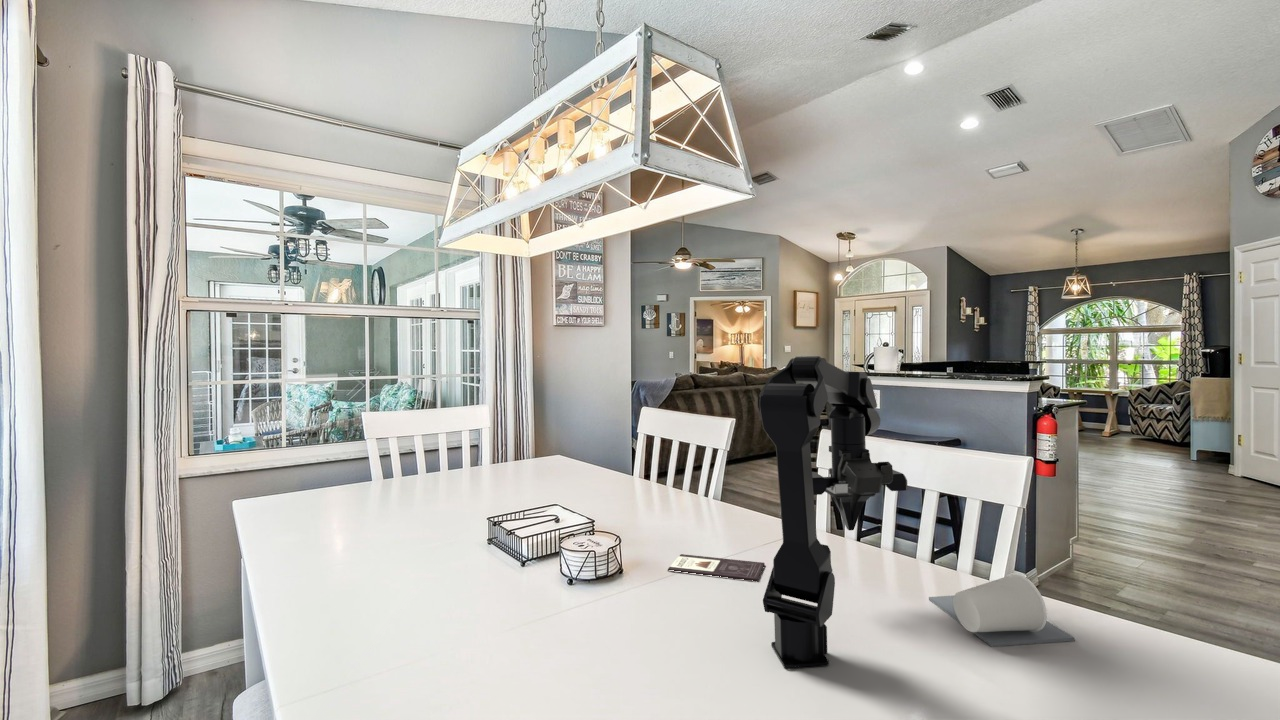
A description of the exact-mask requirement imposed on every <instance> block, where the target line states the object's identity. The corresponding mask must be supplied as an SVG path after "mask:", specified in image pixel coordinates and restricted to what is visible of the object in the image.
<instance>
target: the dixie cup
mask: <svg viewBox="0 0 1280 720" xmlns="http://www.w3.org/2000/svg"><path fill="white" fill-rule="evenodd" d="M954 595H955V596H954V599H953V605H954V610H955V613H956V615H957V618H958V620H959V621H960V623H959V624H960V625H962V627H964V629H966V630H967V631H969V632H971V633H973V632H994V631H1026V630H1029V631H1032V632H1037V631H1040V630H1041V629H1043V628H1044V626H1045V624H1046V621H1048V620H1047V619H1048V615H1047V614H1048V613H1047V611H1048V610H1047V606H1046V602H1045V600H1044V598H1043V596H1042V594H1041V592H1040V591H1039V589H1038V588H1037V587H1036V585H1035V584H1034V583H1033V582H1032V581H1031V580H1030V579H1029V578H1028V577H1026V576H1025V575H1022V574H1020V573H1016V572H1012V573H1008V574H1006V575H1005V576H1004V577H1000V578H998V579H993V580H991V581H988V582H985V583H982V584H978V585H976V586H973V587H970V588H966V589H964V590H963V589H962V590H960V591H958V592H956V593H955V594H954Z"/></svg>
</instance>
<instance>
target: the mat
mask: <svg viewBox="0 0 1280 720" xmlns="http://www.w3.org/2000/svg"><path fill="white" fill-rule="evenodd" d="M954 596H955V594H954V595H942V596H941V595H940V596H937V595H936V596H928V601H929V602H932V604H934V605H935V606H936V607H938V608H939V609H940V610H942V611H943V612H945V614H947V615H948V616H950V617H951V618H952V619H954V620H955V621H957V622H958V623H959V624H961V623H960V621H959V620H958V618H957V615H956V613H955V610H954V605H953V599H954ZM972 633H973V634H974V635H975V636H977V637H978V638H979V639H981V640H982V641H983V642H985V643H986V644H987V645H988V646H990V647H1003V646H1005V647H1006V646H1016V645H1033V644H1046V643H1061V642H1074V641H1075V640H1076V639H1075V636H1073V635H1072V634H1070V633H1068V632H1067V631H1065V630H1063V629H1061V628H1060V627H1058V626H1056V625H1054V623H1051V622H1050V621H1048V620H1046V624H1045V626H1044V628H1043V629H1041V630H1040V631H1037V632H1032V631H1029V630H1026V631H994V632H972Z"/></svg>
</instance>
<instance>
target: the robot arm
mask: <svg viewBox="0 0 1280 720" xmlns="http://www.w3.org/2000/svg"><path fill="white" fill-rule="evenodd" d="M871 380H872V379H871V378H869V376H868V374H867V373H866V371H845V370H843V369H841V368H839V367H837V366H836V365H834V364H832V363H830V362H828V361H827V359H826V358H825V357H821V356H820V355H818V356H795V357H793V358H791V359H789V361H788V363H787V365H786V366H785V367H783V368H782V369H780V370H778V371H777V372H776V373H774V374H772V375H771V376H770V377H769V378H768V379H767V380H766V382H765V384H764V385H763V388H762V389H761V390H760V393H759V395H758V398H757V408H758V412H759V413H760V419H761V424H762V429H763V431H764V432H765V434H766V435H767V437H768V438H769V439H770V440H771V442H772V443H773V445H774V446H775V453H776V468H777V480H778V490H779V491H778V492H779V503H780V504H779V505H780V506H779V507H780V518H781V530H782V532H781V533H782V544H781V546H780V548H779V549H778V550H777V552H776V554H775V555H774V558H773V562H772V563H773V566H772V569H771V572H770V576H769V579H768V583H767V586H766V588H765V592H764V594H763V599H762V604H763V609H764V612H765V613H771V614H773V615H774V616H773V617H774V618H773V619H774V621H773V622H774V623H773V624H774V641H772V642H770V643H771V648H772V650H773V651H774V653H775V655H776V656H777V657H778V659H779V661H780V663H781V665H782V667H783V668H786V669H795V668H809V667H826V666H828V665H830V660H829V659H828V658H827V654H828V627H827V625H826V622H827V620H829V619H830V617H832V615H833V608H834V597H835V586H836V585H835V584H836V579H835V578H836V577H835V574H834V573H833V568H832V559H831V556H832V555H831V549H830V546H829V545H826V544H822V543H821V542H820V541H819V539H818V536H817V525H816V524H817V523H816V509H815V496H816V495H817V496H820V495H823V494H824V493H827V494H828V495H829V496H831V497H832V499H833V501H834V503H835V505H836V507H837V509H838V511H839V513H840V517H841V518H842V521H843V523H844V525H845V528H846V530H847V531H854V530H855V528H856V525H857V522H858V520H859V516H860V514H861V511H862V509H863V506H864V504H865V503H866V501H868V500H869V499H870V498H872V497H875V496H876V494H880V493H881V492H882V486H885V487H886V488H887V489H888V490H889V491H890V492H900V491H901V492H903V491H905V492H907V490H908V478H907V476H905V474H904V473H903V472H901V471H900V472H899V471H897V470H895V469H893V465H892V463H890V462H889V461H878V462H872V460H871V453H870V450H869V449H867V448H866V445H867V443H866V437H867V436H869V435H872V434H874V433H875V432H876V431H878V429H879V428H880V426H881V416H880V414H879V412H878V411H877V410H876V408H877V407H878V404H877V399H876V395H875V392H874V387H873V383H872V381H871ZM827 404H829V406H830V408H833V409H832V410H831V411H830V412H829V415H828V417H829V419H830V440H831V441H830V443H831V444H830V445H828V452H829V453H831V467H830V468H828V471H829V472H828V473H829V475H831V476H823V475H821V474H818V473H817V472H815V471H813V468H812V466H813V465H812V453H811V450H812V449H811V441H812V439H813V438H814V436H815V434H816V432H817V431H818V429H819V427H820V425H821V415H822V413H823V412H824V409H825V407H826V405H827ZM783 596H785V597H786V598H785V597H783ZM787 597H789V598H793V599H794V600H793V599H789V598H787ZM795 599H797V600H800V601H797V600H795ZM801 600H802V601H805V603H804V602H801ZM806 602H809V603H814V604H816V605H813V604H809V603H806Z"/></svg>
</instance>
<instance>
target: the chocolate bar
mask: <svg viewBox="0 0 1280 720" xmlns="http://www.w3.org/2000/svg"><path fill="white" fill-rule="evenodd" d="M763 567H765V562H761V561H759V562H758V561H753V560H752V561H751V560H740V559H732V558H723V557H722V558H721V557H711V556H702V555H695V554H694V555H693V554H682V553H681V554H679V556H678V557H677V558H676V559H675V560H674V561H673V563H672V564H670V566H669V567H668V568H667V571H668V570H674V571H681V572H688V573H696V574H703V575H712V576H719V577H720V576H721V577H728V578H733V579H732V580H735V579H744V580H753V581H757V580H758V581H759V579H760V577H759V576H761V574H762V572H763V570H764V568H763ZM762 569H763V570H762ZM761 571H762V572H761ZM760 573H761V574H760ZM758 578H759V579H758ZM744 580H743V581H744ZM758 581H757V582H758Z"/></svg>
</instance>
